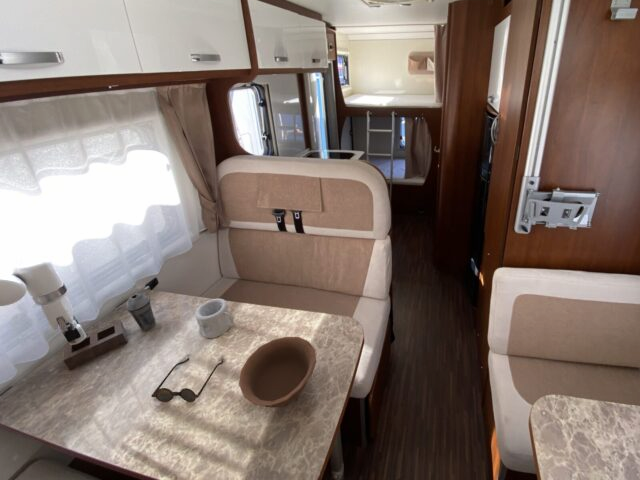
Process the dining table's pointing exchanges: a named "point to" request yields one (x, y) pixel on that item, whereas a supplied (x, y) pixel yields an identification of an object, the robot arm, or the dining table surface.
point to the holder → (95, 345)
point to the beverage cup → (141, 310)
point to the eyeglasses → (185, 393)
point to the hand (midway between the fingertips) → (74, 334)
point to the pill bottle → (79, 332)
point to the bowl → (277, 371)
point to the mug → (214, 318)
